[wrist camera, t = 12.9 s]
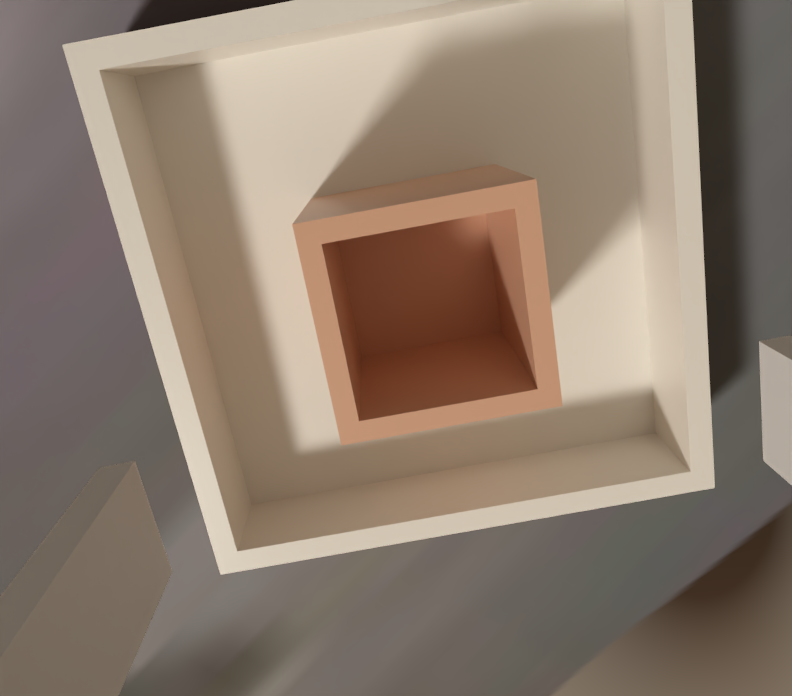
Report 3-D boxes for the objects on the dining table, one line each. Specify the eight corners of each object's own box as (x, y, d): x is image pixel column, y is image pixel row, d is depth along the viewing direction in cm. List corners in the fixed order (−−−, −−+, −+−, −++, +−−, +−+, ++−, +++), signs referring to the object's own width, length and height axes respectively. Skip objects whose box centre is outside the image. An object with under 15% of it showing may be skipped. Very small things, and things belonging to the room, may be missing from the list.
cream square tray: (111, 56, 30) (62, 45, 25) (636, -45, 29) (688, -76, 25) (240, 515, 37) (220, 574, 32) (669, 439, 36) (714, 487, 31)
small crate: (311, 198, 31) (292, 224, 23) (495, 164, 31) (536, 179, 23) (347, 370, 33) (341, 445, 26) (518, 339, 33) (562, 405, 26)
